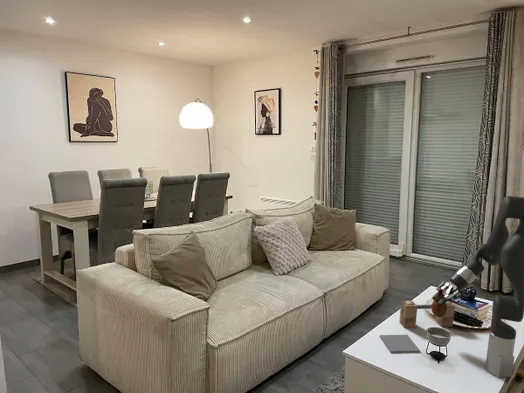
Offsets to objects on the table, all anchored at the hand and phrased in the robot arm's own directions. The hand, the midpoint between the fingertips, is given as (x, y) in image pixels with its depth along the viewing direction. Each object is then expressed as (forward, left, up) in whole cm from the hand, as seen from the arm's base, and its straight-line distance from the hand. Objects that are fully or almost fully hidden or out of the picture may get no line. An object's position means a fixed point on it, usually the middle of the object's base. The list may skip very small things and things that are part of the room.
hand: (436, 301), depth 186 cm
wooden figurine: (0, -2, -7) cm, 8 cm away
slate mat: (-3, +18, -20) cm, 27 cm away
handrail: (+15, -4, -20) cm, 25 cm away
